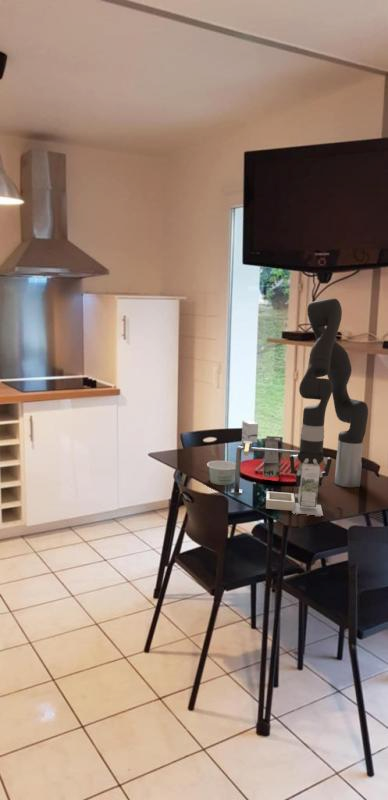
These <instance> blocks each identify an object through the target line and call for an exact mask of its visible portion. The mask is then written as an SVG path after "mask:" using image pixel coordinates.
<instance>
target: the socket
mask: <svg viewBox="0 0 388 800" xmlns="http://www.w3.org/2000/svg"><path fill="white" fill-rule="evenodd" d="M295 501H296V499H295V493H294V492H293V493H292V492H284V491H283V492H280V491H279V492H278V491H269V490H266V497H265V510H266V509H268V510H269V509H271V510H281V511H290V512H292V509H294V506H295V503H296V502H295Z"/></svg>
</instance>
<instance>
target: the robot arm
mask: <svg viewBox="0 0 388 800" xmlns="http://www.w3.org/2000/svg"><path fill="white" fill-rule="evenodd" d="M306 311H307V318H308V321H309V323H310V324H309V325H310V327H311V329H312V332H313V334H314V336H315V339H316V342H315V343H314V344H313V346H312V347H311V349H310V352H309V359H308V365H307V368H306V371H305V374H304V376H303V377H302V379H301V381H300V384H299V386H298V387H299V388H298V392H299V395H300V397H302V398H303V399H308V400H318V401H320V402H318V403H317V404H315V405H306V406H305V407H304V408H303V412H302V424H301V429H300V440H299V443H300V444H299V451H300V452H299V454H293V453H290V455H289V461H290V462H289V463H290V464H289V465H290V472H291V474H294V475H295V476H296V477H295V484H296V485H297V487H298V486H300V478H301V475H300V474H301V471H302V465H303V464H314V465H318V464H319V465H320V464H321V463H323V461H324V464H325V467H324V470H323V471H322V469H321V468H320V472H319V483H318V489H319V488H321V487H322V484H323V477H327V476H329V474H330V473H329V472H330V469H331V464H332V461H333V460H332V458H331V456H328V457H325V456H324V454H323V452H324V450H323V449H324V438H325V417H326V411H327V407H328V404H329V400H330V399H331V396H332V399H333V404H334V405H333V406H334V412H335V415H336V417H337V418H338V420H340V421H341V422H343V423H347V424H349V428H348V430H344V431H340V432H339V433H338V437H337V451H336V458H335V459H336V461H335V472H334V473H335V474H334V484H335V485H337V486H340V487H344V488H360V487H361V479H362V467H363V466H362V465H363V462H362V454H363V444H364V438H365V436H366V430H367V424H368V417H369V406H368V404H367V403H366V402H365V401H362V400H359V399H352V398H350V396H349V392H348V388H347V387H348V382H349V380H350V378H351V375H352V370H353V369H352V365H351V361H350V357H349V354H348V352H347V351H346V349H345V348H344V347H343V346H342V345H341V344H340V343H338V342H337V341H336V338H337V335H338V332H339V330H340V329H339V328H340V326H341V325H340V324H341V321H342V316H343V315H342V314H343V313H342V312H343V309H342V305H341V303H340V301H339V299H337V298H327V299H321V300H316V301H315V300H313V301H311V302H309V303H308V305H307V310H306ZM325 376H327V378H325ZM321 377H324V378H321ZM297 460H299V462H300V464H299V466H298V467H297V469H295V462H296V461H297ZM301 463H302V465H301Z"/></svg>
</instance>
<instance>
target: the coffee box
mask: <svg viewBox="0 0 388 800" xmlns="http://www.w3.org/2000/svg"><path fill="white" fill-rule="evenodd" d="M264 444H265V445H264V448H270V449H283V436H275V435H273V436H271V435H270V436H269V435H267V436H266V439H265V443H264ZM281 465H282V453H280V452H266V451H264V457H263V473H262V478H263V477H279V475H280V476H281V467H282V466H281Z"/></svg>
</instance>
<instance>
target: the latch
mask: <svg viewBox="0 0 388 800" xmlns="http://www.w3.org/2000/svg"><path fill="white" fill-rule="evenodd" d="M242 446H243V447H245V449H244V450H243V456H249V451H250V450H249V448H252V442H251V441H244V443H243V444H242Z"/></svg>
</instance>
